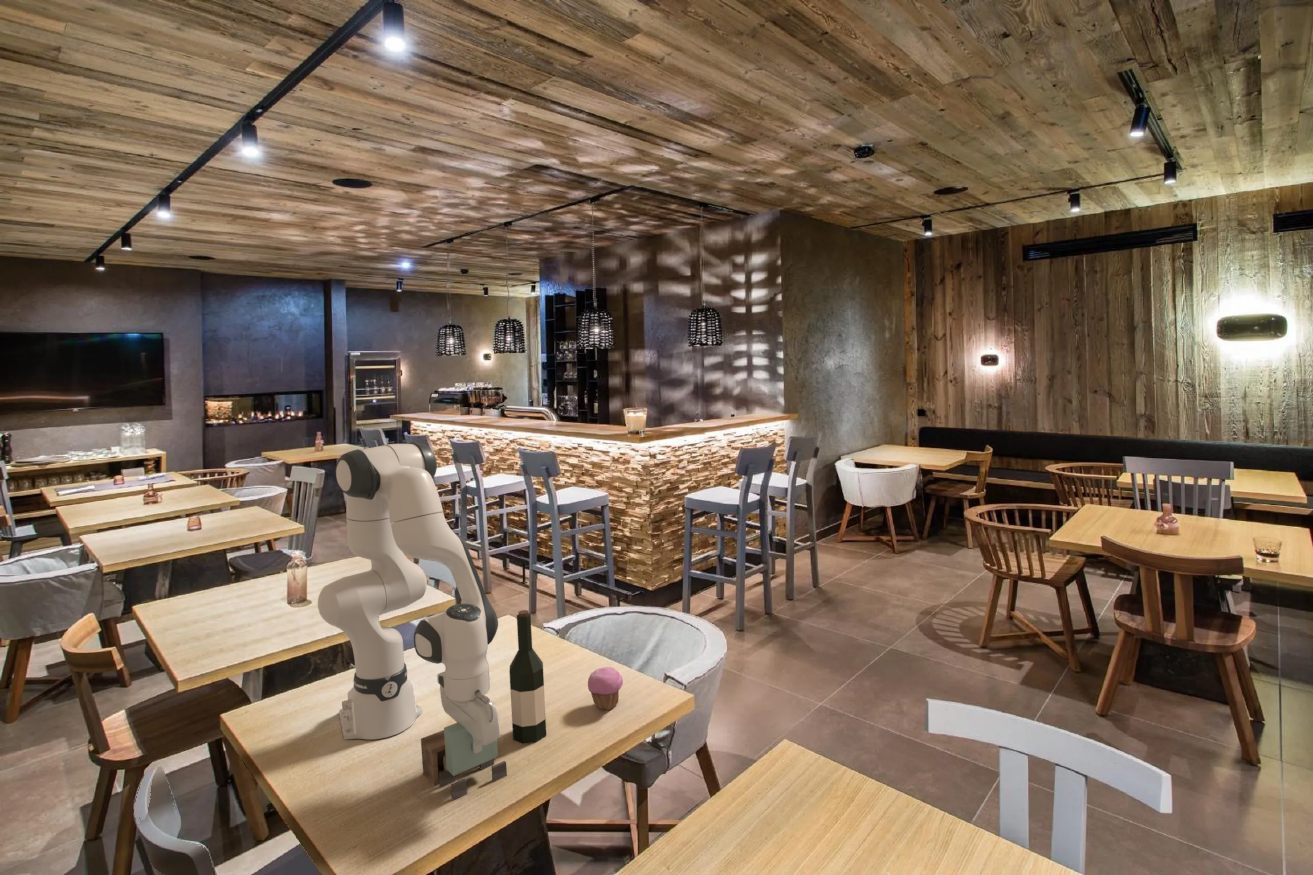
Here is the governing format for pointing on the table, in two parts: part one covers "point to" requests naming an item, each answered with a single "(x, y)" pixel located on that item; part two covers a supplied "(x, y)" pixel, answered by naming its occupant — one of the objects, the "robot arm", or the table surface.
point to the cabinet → (437, 765)
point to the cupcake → (605, 687)
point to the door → (464, 750)
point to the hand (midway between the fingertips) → (471, 746)
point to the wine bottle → (527, 687)
